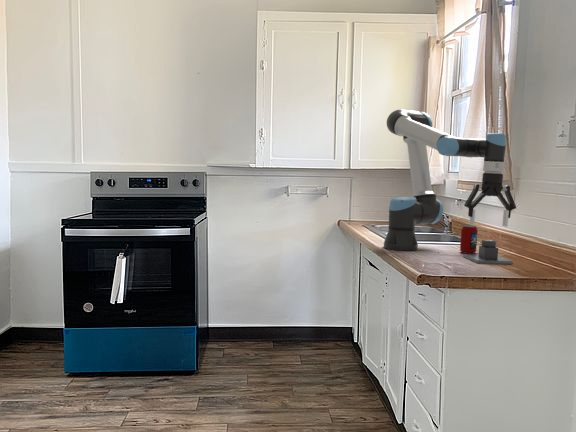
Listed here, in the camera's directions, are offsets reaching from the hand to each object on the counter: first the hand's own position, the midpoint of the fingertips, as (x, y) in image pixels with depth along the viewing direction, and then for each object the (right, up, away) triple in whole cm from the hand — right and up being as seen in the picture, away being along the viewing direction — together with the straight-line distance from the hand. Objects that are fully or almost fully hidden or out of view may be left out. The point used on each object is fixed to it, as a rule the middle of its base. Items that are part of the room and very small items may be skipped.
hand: (488, 225), depth 202 cm
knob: (0, -13, 0) cm, 13 cm away
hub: (0, -14, +1) cm, 14 cm away
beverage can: (-1, -12, +20) cm, 23 cm away
